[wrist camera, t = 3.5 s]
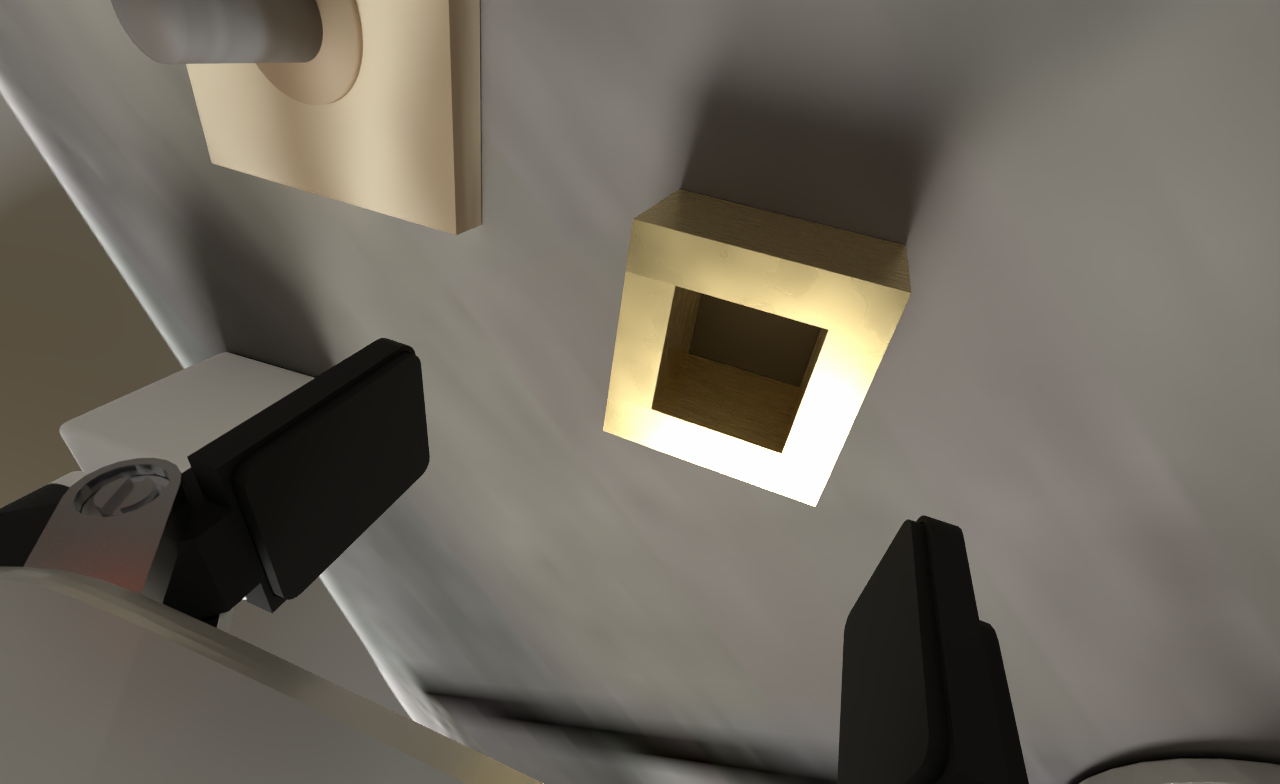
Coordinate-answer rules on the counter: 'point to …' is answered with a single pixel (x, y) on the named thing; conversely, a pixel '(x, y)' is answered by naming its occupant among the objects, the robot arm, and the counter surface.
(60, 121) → the counter surface
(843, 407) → the collar
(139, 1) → the post stand
